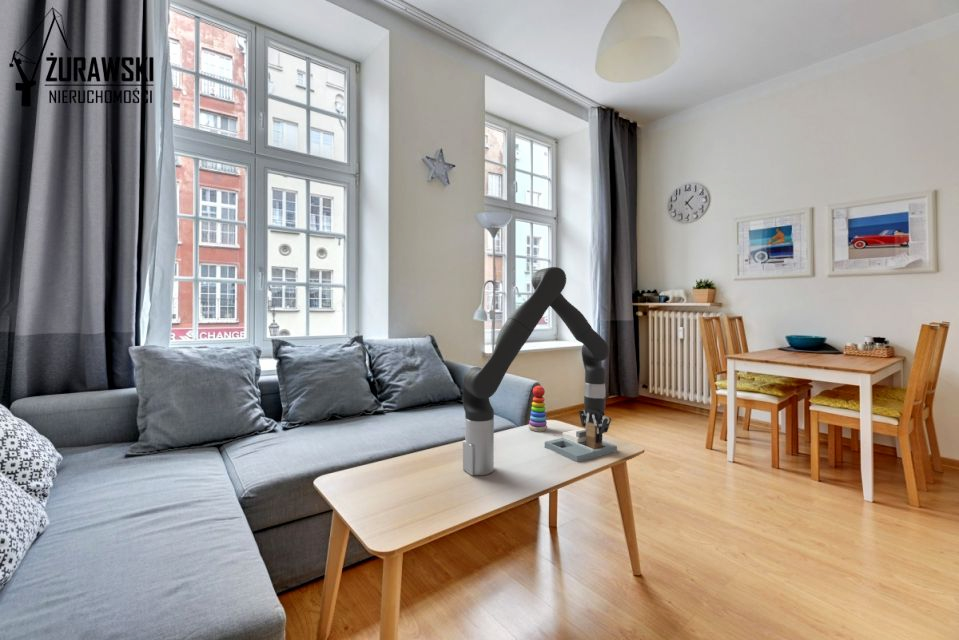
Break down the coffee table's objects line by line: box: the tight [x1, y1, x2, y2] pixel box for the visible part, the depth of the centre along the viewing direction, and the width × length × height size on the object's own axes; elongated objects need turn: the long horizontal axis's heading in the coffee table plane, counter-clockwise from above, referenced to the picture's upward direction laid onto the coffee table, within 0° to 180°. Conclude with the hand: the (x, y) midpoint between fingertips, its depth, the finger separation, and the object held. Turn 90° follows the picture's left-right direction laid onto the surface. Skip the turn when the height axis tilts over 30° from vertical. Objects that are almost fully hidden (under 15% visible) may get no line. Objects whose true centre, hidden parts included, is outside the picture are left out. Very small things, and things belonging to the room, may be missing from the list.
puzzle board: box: [544, 437, 618, 463], centre depth 153 cm, size 20×17×3 cm
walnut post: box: [585, 422, 602, 450], centre depth 151 cm, size 4×4×9 cm
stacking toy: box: [528, 385, 548, 432], centre depth 176 cm, size 8×8×19 cm
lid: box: [562, 429, 586, 443], centre depth 158 cm, size 8×8×4 cm
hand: (594, 441), depth 151 cm, fingers closed on walnut post, 4 cm apart
